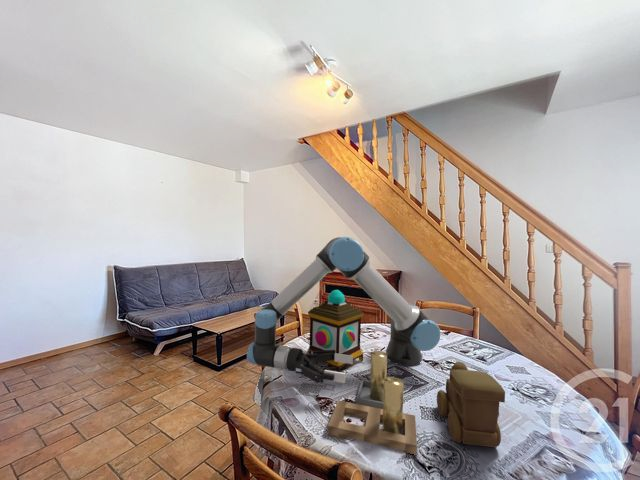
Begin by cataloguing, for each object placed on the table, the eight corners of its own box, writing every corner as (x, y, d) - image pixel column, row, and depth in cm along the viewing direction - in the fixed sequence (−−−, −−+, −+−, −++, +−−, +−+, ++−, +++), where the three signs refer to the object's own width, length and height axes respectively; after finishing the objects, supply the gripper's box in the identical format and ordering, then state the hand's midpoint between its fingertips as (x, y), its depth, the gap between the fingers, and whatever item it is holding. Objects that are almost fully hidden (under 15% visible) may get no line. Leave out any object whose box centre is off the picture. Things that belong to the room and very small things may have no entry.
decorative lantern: (331, 348, 131) (333, 284, 131) (367, 361, 118) (370, 290, 117) (300, 361, 116) (302, 289, 116) (338, 378, 103) (340, 297, 102)
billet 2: (391, 425, 78) (393, 375, 78) (405, 436, 74) (407, 383, 74) (378, 431, 75) (380, 379, 75) (392, 443, 71) (394, 388, 71)
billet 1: (377, 391, 94) (379, 349, 94) (389, 399, 90) (390, 355, 89) (366, 395, 91) (367, 352, 91) (377, 403, 87) (379, 358, 87)
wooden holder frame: (327, 435, 73) (328, 425, 73) (338, 408, 85) (338, 400, 85) (416, 456, 67) (417, 445, 67) (414, 424, 79) (415, 415, 78)
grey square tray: (361, 386, 98) (361, 379, 98) (397, 393, 94) (397, 385, 94) (356, 406, 86) (356, 398, 86) (396, 414, 83) (396, 405, 83)
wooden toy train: (507, 461, 66) (509, 391, 66) (456, 454, 68) (458, 386, 68) (472, 409, 86) (474, 355, 86) (433, 405, 88) (435, 352, 88)
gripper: (301, 355, 111) (355, 363, 105) (273, 387, 87) (340, 400, 81) (302, 336, 111) (355, 343, 105) (274, 363, 87) (341, 374, 81)
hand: (349, 368), depth 93 cm, fingers open, 13 cm apart
